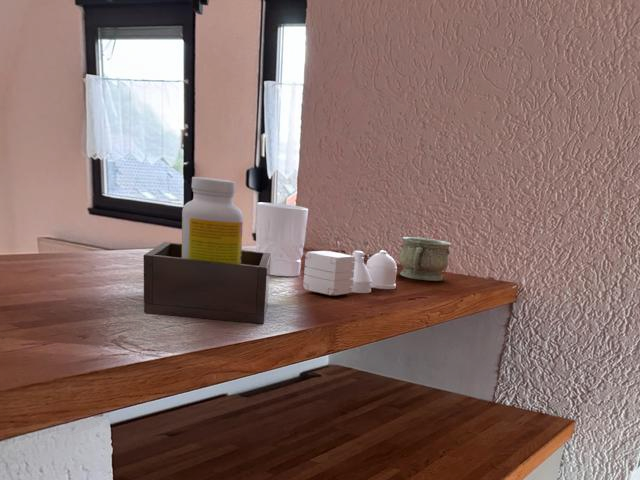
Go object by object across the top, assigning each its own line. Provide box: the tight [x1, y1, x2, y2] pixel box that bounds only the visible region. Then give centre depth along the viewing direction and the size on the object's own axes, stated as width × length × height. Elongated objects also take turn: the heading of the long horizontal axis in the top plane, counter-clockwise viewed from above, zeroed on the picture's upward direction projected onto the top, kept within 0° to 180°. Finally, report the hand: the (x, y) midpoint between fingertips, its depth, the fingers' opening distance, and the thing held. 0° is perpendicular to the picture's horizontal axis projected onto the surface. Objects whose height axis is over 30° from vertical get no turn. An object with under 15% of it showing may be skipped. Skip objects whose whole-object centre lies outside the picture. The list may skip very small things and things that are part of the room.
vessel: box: [398, 236, 452, 282], centre depth 128 cm, size 12×9×6 cm
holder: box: [143, 241, 271, 325], centre depth 84 cm, size 13×13×6 cm
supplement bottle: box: [181, 176, 244, 264], centre depth 82 cm, size 7×7×13 cm
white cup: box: [255, 201, 309, 277], centre depth 113 cm, size 8×8×10 cm
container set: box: [302, 250, 398, 296], centre depth 107 cm, size 20×5×6 cm, turn 149°
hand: (152, 5), depth 79 cm, fingers open, 9 cm apart
